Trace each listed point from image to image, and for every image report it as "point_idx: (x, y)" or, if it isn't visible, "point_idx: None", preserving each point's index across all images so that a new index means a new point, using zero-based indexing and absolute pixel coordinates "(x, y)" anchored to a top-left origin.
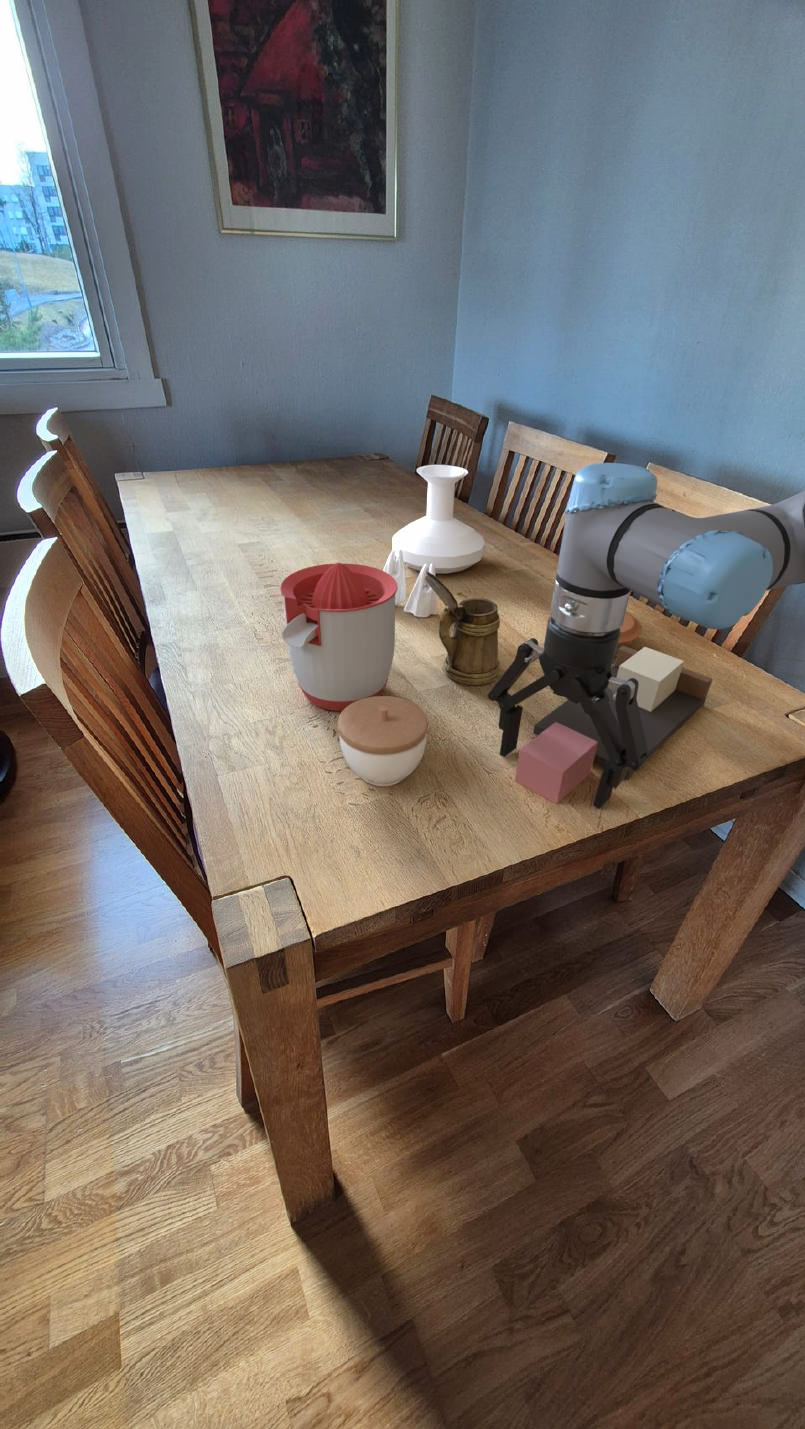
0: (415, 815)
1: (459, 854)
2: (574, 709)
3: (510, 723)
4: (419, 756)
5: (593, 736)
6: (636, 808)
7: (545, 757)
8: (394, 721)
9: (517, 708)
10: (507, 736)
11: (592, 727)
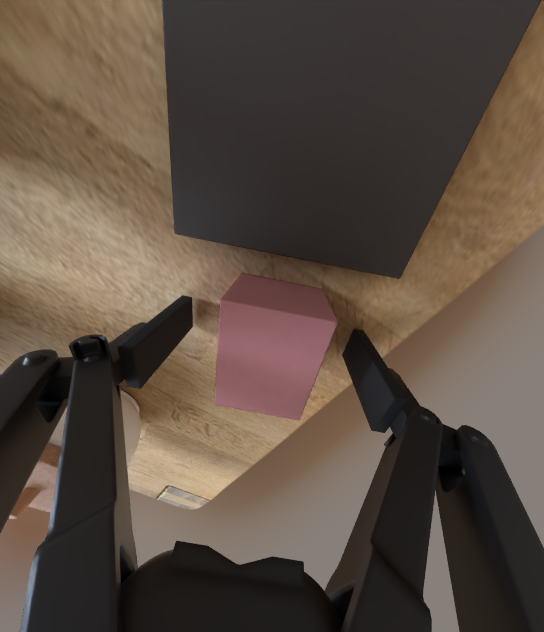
0: (186, 431)
1: (244, 447)
2: (210, 68)
3: (154, 369)
4: (126, 448)
5: (304, 195)
6: (404, 328)
7: (259, 406)
8: (46, 489)
9: (127, 360)
10: (171, 351)
11: (290, 149)
